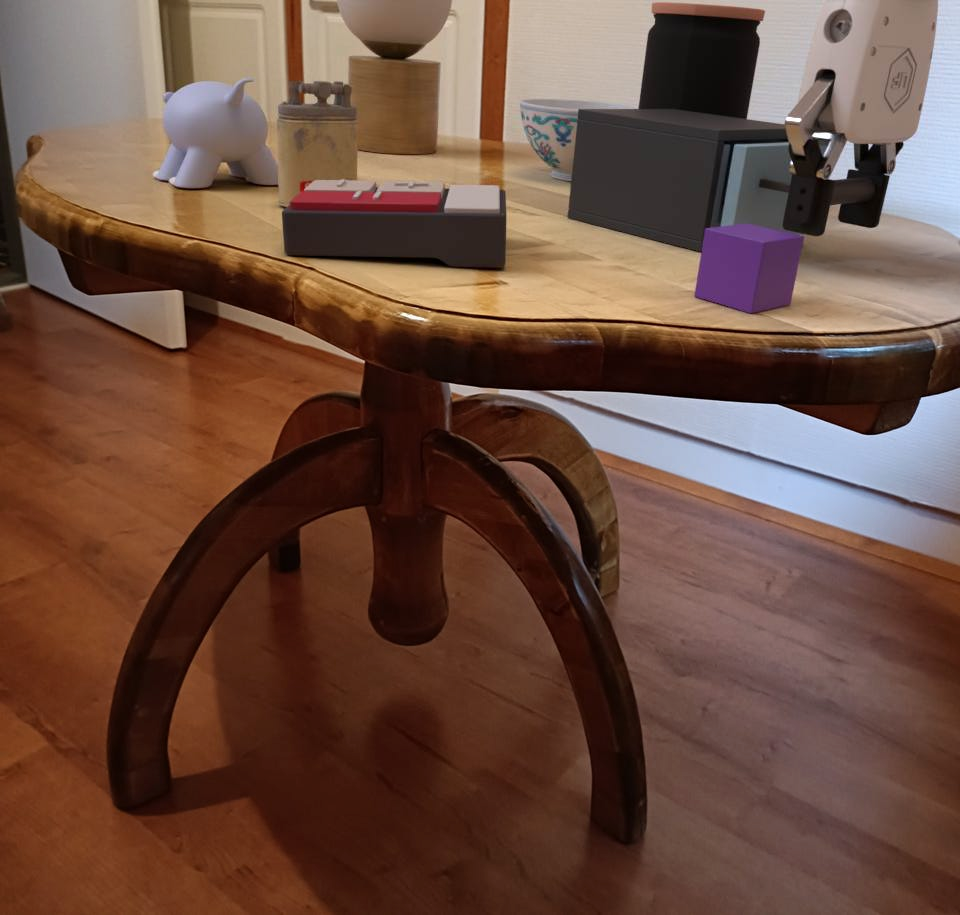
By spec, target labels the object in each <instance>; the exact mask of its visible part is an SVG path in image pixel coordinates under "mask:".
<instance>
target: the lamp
mask: <svg viewBox="0 0 960 915" xmlns="http://www.w3.org/2000/svg"><path fill="white" fill-rule="evenodd" d="M336 4H337V8H338V11H339V13H340V15H341V18H342V20H343V22H344V24H345V25H346V27H347V28H348V30H349V31H350V32H351V33H352V35H353V36H355V37H356V38H357V39H358V40H359V41H360V42H361V44H363V45H364V47H365V48H366V49H367V50H369V51H370V52H372V53H373V54H375V55H376V56H375V55H349V56H348V70H347V71H348V72H347V73H348V76H347V77H348V78H347V79H348V82H347V84H349V85H350V86H349V87H352V93H351V96H350V101H351V106H355V107H356V108H357V115H356V116H357V118H356V120H357V121H358V143H357V151H363V152H370V153H376V154H386V155H387V154H389V155H429V154H433V153H436V152H438V134H439V115H440V114H439V112H440V90H441V89H440V88H441V70H442V69H441V68H442V66H441V65H442V63H441V62H439V61H436V60H428V59H420V58H419V59H418V58H411V57H413V56H414V55H416V54H418V53H419V52H421V51H422V50H423V49H424V48H425V47H426V46H427V44H429V43H430V42H432V41H433V40H434V39H436V37H438V35H439V34H440V32H441V31H442V30H443V28H444V26H445V25H446V23H447V21H448V18H449V15H450V13H451V9H452V4H453V0H336Z"/></svg>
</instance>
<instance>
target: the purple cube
mask: <svg viewBox="0 0 960 915" xmlns="http://www.w3.org/2000/svg"><path fill="white" fill-rule="evenodd" d="M804 241H805V236H804V235H796V234H792V233H787V232H783V231H778V230H774V229H769V228H765V227H760V226H756V225H752V224H747V223H744V224H736V225H729V226H721V227H713V228H706V229H705V233H704V239H703V246H702V252H700V258H699V265H698V272H697V277H696V283H695V289H694V297H695V298H698V299H701V300H704V299H705V301H707V300H708V302H711V303H714V302H715V304H717V303H719V304H718V305H721V304H722V306H724V305H725V306H724V307H727V306H728V307H727V308H731V307H732V308H731V309H735V310H738V311H742V312H744V313H747V314H754V313H760V312H763V311H767V310H768V311H769V310H772V309H778V308H783V307H786V306H790V305H791V303H792V299H793V294H794V288H795V284H796V279H797V274H798V269H799V265H800V264H799V263H800V260H801V255H802V251H803V250H802V249H803V245H804Z"/></svg>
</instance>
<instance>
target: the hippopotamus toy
mask: <svg viewBox="0 0 960 915" xmlns="http://www.w3.org/2000/svg"><path fill="white" fill-rule="evenodd" d="M252 82H254V78H250V77H245V78H242V79H239V80H238V81H236V83H235V84H234V85H231V84H228V83H226V82H220V81H213V80H204V81H197V82H193V83H189V84H186V85H184V86H183V87H180V89H177V91H175V92H172V91H166V92H165V93H164V94H163V96H162V99H163V102H164V103H165V106H164V109H163V113H162V125H163V130H164V133H165V135H166V137H167V138H168V140H169V141H170V145H169V148H168V149H167V152H166V154H165V156H164V159H163V160H162V163H161V166H160V167H159V170H155V171H153V173H152V177H153V178H156V179H157V180H159V181H165V182H166V181H168V183H169V184H171V185H173V187H177V188H181V189H204V188H209V187H211V186H212V184H213V181H214V179H215V177H216V175H217V173H218V171H219V169H220V167H221V164H223V163H224V164H226V165H227V167H228V171H227V172H228V174H229V175H230V176H232V177H237V178H242V179H243V178H244V179H245V180H246V181H247V182H249V183H252V184H255V185H264V186H278V162H277V160H276V159H275V156H274V155H273V153H272V151H271V149H270V148H269V147H268V146H267V145H266V142H267V139H268V134H269V124H268V120H267V116H266V114H265V111H264V110H263V108H262V106H260V105H259V103H258V102H257V101H256V100H255V99H254V98H253V97H252V96H251V95H249V94H248V93H247V92H246V91H245V86H246V84H247V83H252Z"/></svg>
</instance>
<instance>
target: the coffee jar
mask: <svg viewBox="0 0 960 915" xmlns="http://www.w3.org/2000/svg"><path fill="white" fill-rule="evenodd" d="M651 14H653V15H652V16H653V18H654V24H653V25H652V26H651V28H650V29H648V34H647V39H646V45H645V46H646V47H645V53H644V54H645V55H644V63H643V71H642V76H641V77H642V78H641V86H640V94H639V102H638V107H639V108H638V109H676V110H683V111H691V112H698V113H705V114H713V115H720V116H727V117H735V118H742V119H748V114H749V109H750V103H751V97H752V91H753V86H754V80H755V74H756V67H757V62H758V57H759V51H760V45H761V38H760V36H759V33H758V32H757V31H758V27H759V25H760V24H761V22H763V21H764V18H765V14H766V10H765V9H760V8H754V7H744V6H732V5H719V4H707V3H705V4H704V3H689V2H669V1H667V2H666V1H664V2H663V1H662V2H659V1H657V2H652V3H651Z"/></svg>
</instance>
